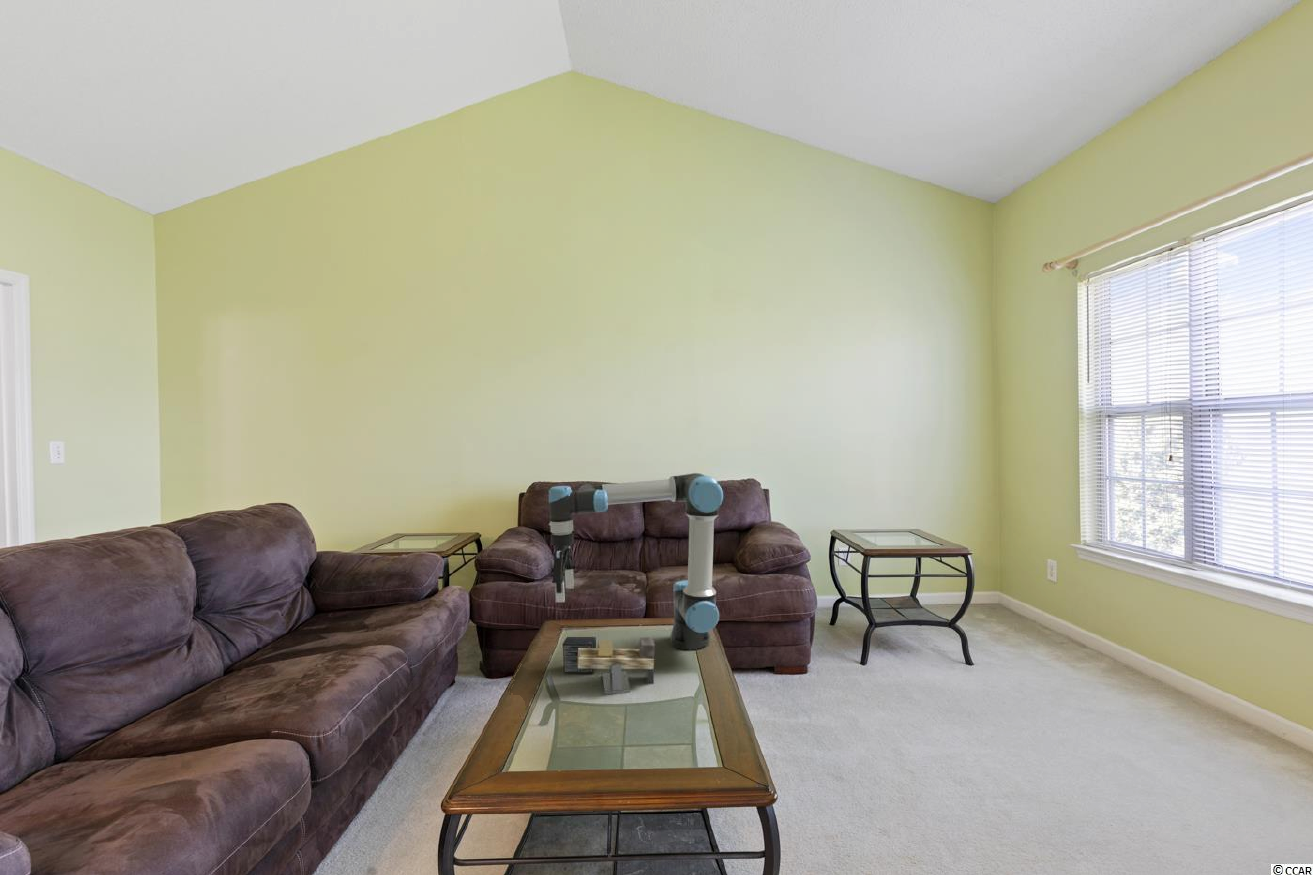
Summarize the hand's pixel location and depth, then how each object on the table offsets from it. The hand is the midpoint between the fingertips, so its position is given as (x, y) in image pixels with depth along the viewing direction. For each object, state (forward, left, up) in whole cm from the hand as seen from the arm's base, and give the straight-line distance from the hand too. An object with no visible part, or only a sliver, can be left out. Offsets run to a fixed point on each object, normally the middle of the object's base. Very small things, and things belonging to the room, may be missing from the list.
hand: (565, 594), depth 185 cm
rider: (-12, +11, -19) cm, 24 cm away
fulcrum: (-19, +11, -27) cm, 35 cm away
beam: (-15, +11, -20) cm, 27 cm away
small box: (-4, -2, -27) cm, 28 cm away
